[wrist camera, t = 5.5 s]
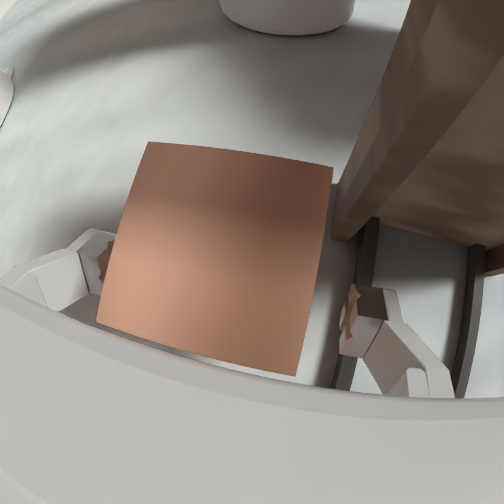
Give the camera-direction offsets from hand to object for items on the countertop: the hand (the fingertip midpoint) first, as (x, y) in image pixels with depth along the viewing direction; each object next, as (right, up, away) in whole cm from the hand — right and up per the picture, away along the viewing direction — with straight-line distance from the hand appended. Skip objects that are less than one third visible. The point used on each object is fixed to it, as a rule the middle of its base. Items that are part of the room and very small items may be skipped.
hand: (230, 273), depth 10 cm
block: (+1, -1, +6) cm, 7 cm away
